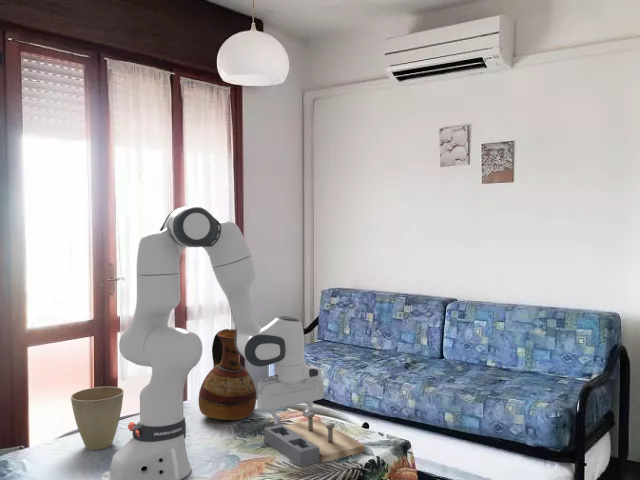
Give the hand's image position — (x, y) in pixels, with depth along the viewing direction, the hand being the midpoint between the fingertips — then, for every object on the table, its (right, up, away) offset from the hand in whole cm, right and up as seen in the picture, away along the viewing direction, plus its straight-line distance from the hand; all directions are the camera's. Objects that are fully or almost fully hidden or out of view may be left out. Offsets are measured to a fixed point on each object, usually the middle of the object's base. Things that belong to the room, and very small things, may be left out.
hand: (292, 419), depth 170 cm
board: (+8, -9, +6) cm, 13 cm away
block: (0, -9, 0) cm, 9 cm away
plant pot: (-58, -10, +7) cm, 60 cm away
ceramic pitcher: (-24, -9, +33) cm, 42 cm away
